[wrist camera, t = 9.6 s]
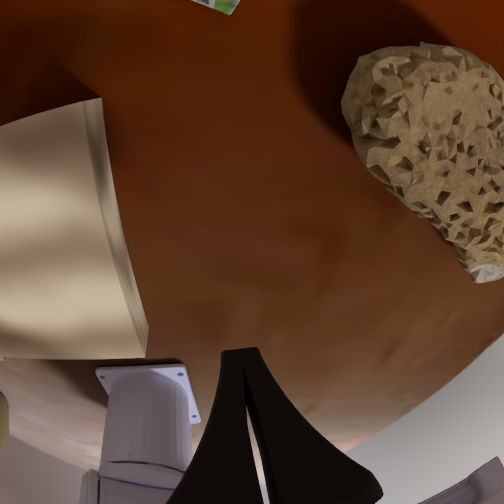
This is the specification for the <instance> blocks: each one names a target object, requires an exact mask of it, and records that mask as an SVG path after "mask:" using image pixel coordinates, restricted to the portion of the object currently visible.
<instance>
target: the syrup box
mask: <svg viewBox="0 0 504 504" xmlns="http://www.w3.org/2000/svg"><path fill="white" fill-rule="evenodd" d="M192 1H195V2H198V3H200V4H203V5H206V6H208V7H210V8H213V9H216V10H218V11H221V12H223V13H225V14H227V15H230V14H231V13H232V12H233V10H234V9H235V7H236V6H237V4H238V3H239V1H240V0H192Z"/></svg>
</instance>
